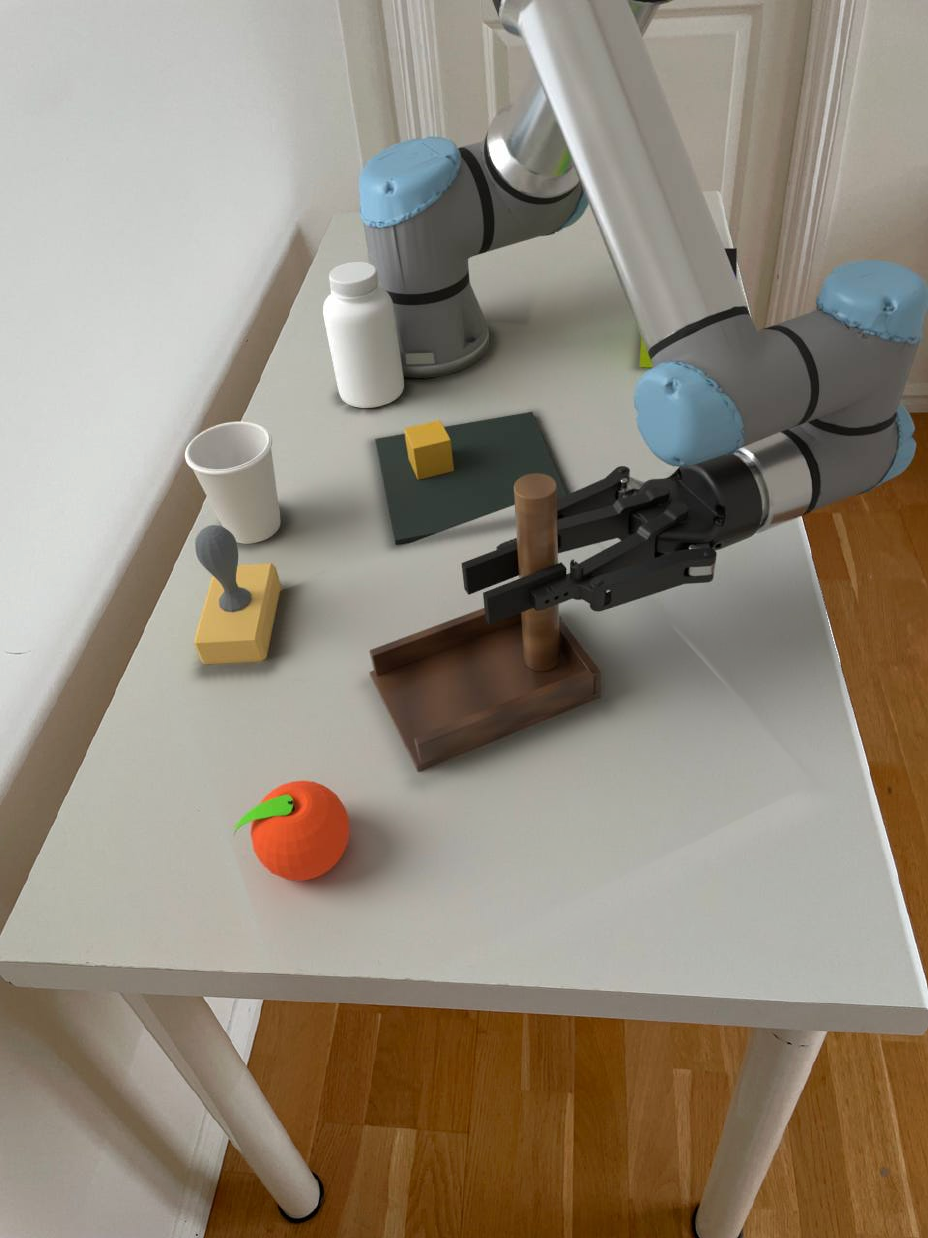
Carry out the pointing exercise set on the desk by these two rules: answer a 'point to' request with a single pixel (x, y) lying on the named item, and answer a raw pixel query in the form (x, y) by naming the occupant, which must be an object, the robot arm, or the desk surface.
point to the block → (429, 449)
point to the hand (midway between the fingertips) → (476, 593)
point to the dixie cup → (238, 478)
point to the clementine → (299, 830)
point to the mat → (463, 475)
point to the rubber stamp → (234, 602)
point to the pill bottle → (362, 337)
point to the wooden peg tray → (488, 659)
